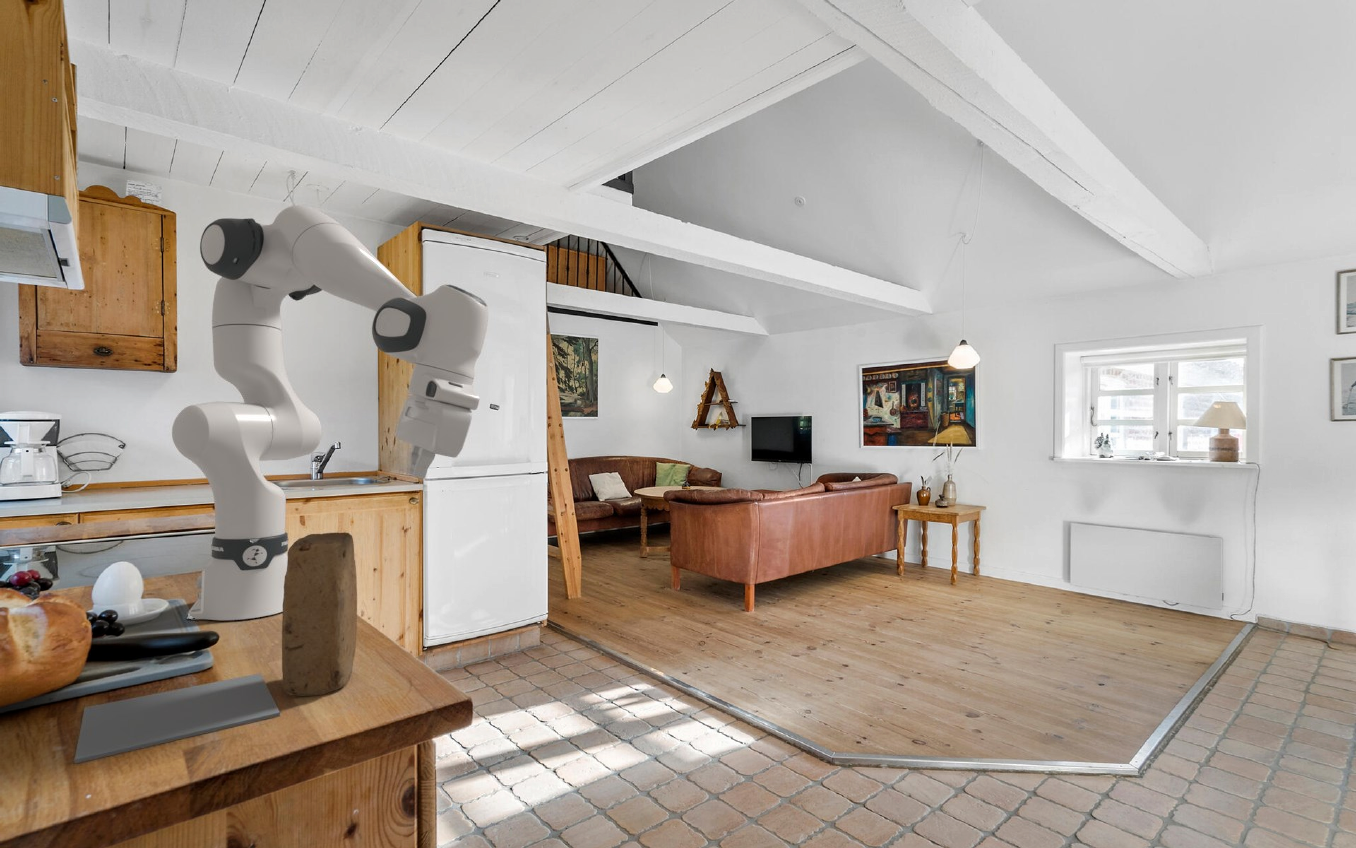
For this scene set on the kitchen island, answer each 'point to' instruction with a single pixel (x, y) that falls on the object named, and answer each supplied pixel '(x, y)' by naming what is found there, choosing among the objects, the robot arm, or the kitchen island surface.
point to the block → (319, 614)
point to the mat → (172, 716)
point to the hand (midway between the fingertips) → (415, 476)
